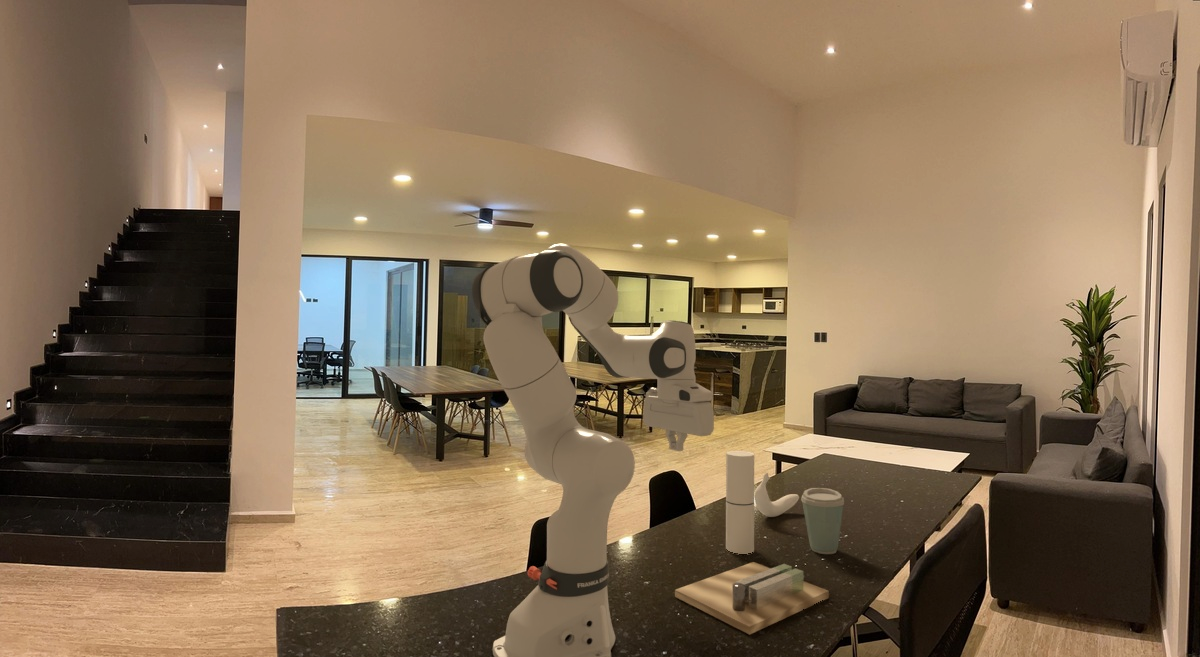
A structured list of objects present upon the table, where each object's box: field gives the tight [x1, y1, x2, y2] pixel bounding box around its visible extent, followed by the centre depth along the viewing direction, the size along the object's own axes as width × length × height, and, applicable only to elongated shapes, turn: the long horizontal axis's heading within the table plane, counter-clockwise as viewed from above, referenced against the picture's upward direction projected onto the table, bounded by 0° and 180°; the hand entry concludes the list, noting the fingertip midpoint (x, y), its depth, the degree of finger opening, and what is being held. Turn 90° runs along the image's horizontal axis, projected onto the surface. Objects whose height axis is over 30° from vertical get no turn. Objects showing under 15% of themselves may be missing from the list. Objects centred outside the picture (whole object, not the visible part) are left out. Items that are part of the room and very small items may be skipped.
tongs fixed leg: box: [749, 568, 804, 610], centre depth 126 cm, size 16×2×4 cm, turn 127°
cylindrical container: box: [725, 450, 755, 555], centre depth 158 cm, size 7×7×25 cm
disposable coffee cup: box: [800, 487, 845, 555], centre depth 157 cm, size 11×11×15 cm
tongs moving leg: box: [732, 563, 793, 611], centre depth 126 cm, size 19×4×5 cm, turn 127°
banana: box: [754, 472, 800, 518], centre depth 186 cm, size 5×19×15 cm, turn 130°
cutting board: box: [674, 561, 830, 636], centre depth 130 cm, size 26×20×2 cm
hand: (676, 450), depth 141 cm, fingers closed
